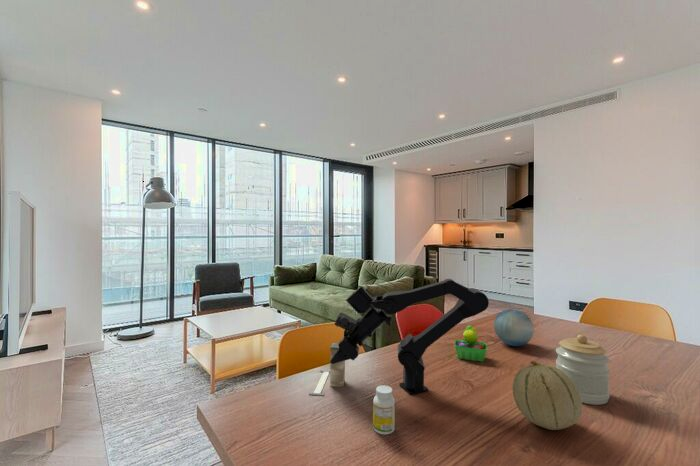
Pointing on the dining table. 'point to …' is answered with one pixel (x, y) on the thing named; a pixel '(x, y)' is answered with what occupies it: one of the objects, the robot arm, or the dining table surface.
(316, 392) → the tape line
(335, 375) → the beige tall block
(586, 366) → the jar
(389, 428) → the supplement bottle
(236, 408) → the dining table surface
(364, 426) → the dining table surface
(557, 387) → the cantaloupe
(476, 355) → the fruit basket
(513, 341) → the decorative ball
